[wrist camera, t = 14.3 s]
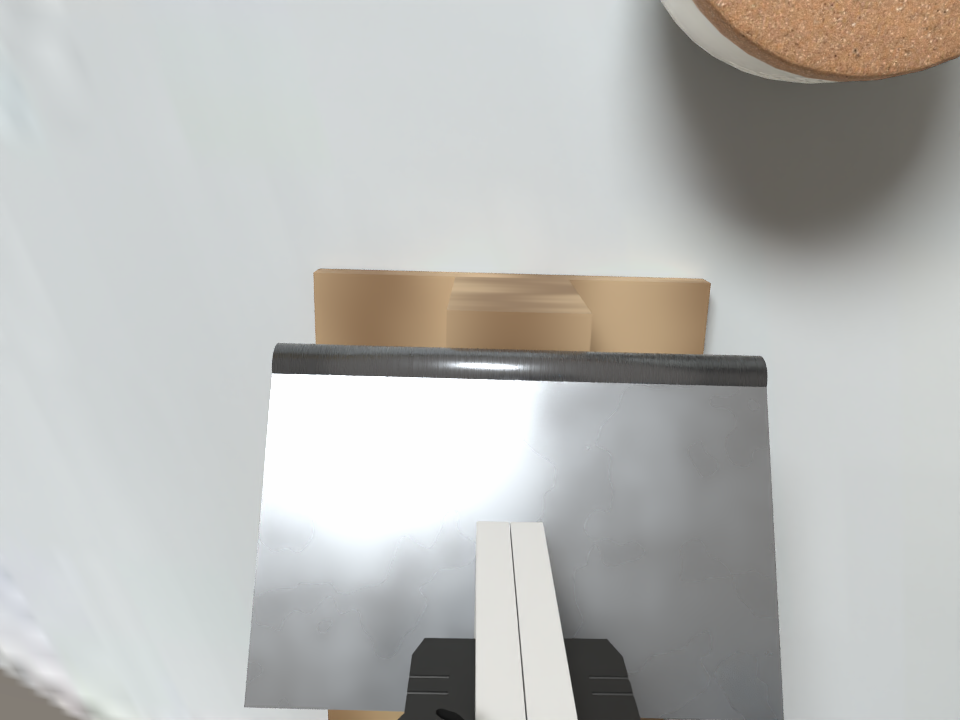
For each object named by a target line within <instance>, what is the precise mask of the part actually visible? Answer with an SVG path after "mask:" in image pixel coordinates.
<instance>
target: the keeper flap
mask: <svg viewBox="0 0 960 720" xmlns="http://www.w3.org/2000/svg"><path fill="white" fill-rule="evenodd" d="M766 387H767V368H766V363H765V361H764V359H763V358H762V357H761V356H741V355H704V354H667V353H629V352H592V351H554V350H517V349H480V348H442V347H405V346H368V345H330V344H293V343H278V344H277V345H276V346H275V349H274V353H273V359H272V383H271V395H270V407H269V419H268V431H267V443H266V455H265V467H264V478H263V490H262V502H261V514H260V526H259V538H258V550H257V562H256V574H255V586H254V597H253V609H252V621H251V633H250V645H249V657H248V669H247V681H246V693H245V705H244V707H254V708H291V709H328V710H364V711H401V712H404V711H405V703H406V696H407V688H408V681H409V673H410V665H411V658H412V654H413V653H414V651H415V650H416V649H417V647H418V646H419V645H420V643H421V642H422V641H423V639H424V638H469V639H474V617H475V571H476V524H477V521H492V522H509V526H510V522H543V526H544V532H545V537H546V543H547V549H548V554H549V560H550V566H551V571H552V577H553V583H554V588H555V594H556V600H557V605H558V611H559V617H560V623H561V628H562V634H563V638H582V639H608V640H609V642H610V643H611V644H612V645H613V646H614V647H615V648H616V649H617V651H618V652H619V653H620V654H621V655H622V656H623V659H624V663H625V666H626V670H627V673H628V679H629V680H630V684H631V687H632V691H633V696H634V697H635V701H636V704H637V708H638V711H639V715H640V718H660V719H697V720H784V715H783V696H782V677H781V658H780V638H779V619H778V600H777V581H776V561H775V542H774V523H773V504H772V484H771V465H770V446H769V427H768V407H767V388H766Z"/></svg>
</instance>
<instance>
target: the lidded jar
mask: <svg viewBox="0 0 960 720" xmlns="http://www.w3.org/2000/svg"><path fill="white" fill-rule="evenodd" d="M661 2H662V3H663V5H664V6H665V8H666V9H667V11H668V12H669V14H670V15H671V17H672V18H673V20H674V21H675V23H676V24H677V25H678V26H679V27H680V28H681V29H682V30H683V31H684V32H685V33H686V34H687V36H688V37H689V38H690V39H691V40H692V41H693V42H694V43H696V44H697V45H698V46H700V47H701V48H702V49H704V50H705V51H706V52H708V53H709V54H710V55H712V56H713V57H715V58H717V59H719V60H721V61H723V62H725V63H727V64H729V65H731V66H733V67H735V68H737V69H739V70H741V71H743V72H746V73H750V74H753V75H756V76H760V77H763V78H766V79H772V80H780V81H788V82H797V83H807V84H810V83H832V82H848V81H870V80H880V79H885V78H890V77H895V76H900V75H904V74H909V73H914V72H918V71H923V70H925V69H928V68H931V67H933V66H936V65H939V64H941V63H944V62H947V61H949V60H952V59H955V58H957V57H959V56H960V0H661Z"/></svg>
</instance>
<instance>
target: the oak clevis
mask: <svg viewBox="0 0 960 720" xmlns="http://www.w3.org/2000/svg"><path fill="white" fill-rule="evenodd" d="M710 286H711V283H709V282H707V281H706V280H704V279H687V278H650V277H612V276H575V275H537V274H500V273H463V272H425V271H388V270H350V269H318V270H317V271H315V272H314V303H315V333H316V344H330V345H368V346H405V347H442V348H480V349H517V350H554V351H592V352H629V353H667V354H703V351H704V341H705V332H706V323H707V313H708V304H709V295H710ZM403 714H404V712H401V711H364V710H328V720H397V719H399V718H400V717H401V716H402V715H403ZM641 720H664V719H660V718H641Z"/></svg>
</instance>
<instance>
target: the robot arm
mask: <svg viewBox="0 0 960 720" xmlns="http://www.w3.org/2000/svg"><path fill="white" fill-rule="evenodd" d="M397 720H641V718H640V715H639V711H638V708H637V704H636V701H635V697H634V696H633V691H632V687H631V684H630V680H629V679H628V673H627V670H626V666H625V663H624V659H623V656H622V655H621V654H620V653H619V652H618V651H617V649H616V648H615V647H614V646H613V645H612V644H611V643H610V642H609V640H608V639H582V638H563V634H562V628H561V623H560V617H559V611H558V605H557V600H556V594H555V588H554V583H553V577H552V571H551V566H550V560H549V554H548V549H547V543H546V537H545V532H544V526H543V522H510V526H509V522H492V521H477V524H476V571H475V617H474V639H469V638H424V639H423V641H422V642H421V643H420V645H419V646H418V647H417V649H416V650H415V651H414V653H413V654H412V658H411V665H410V673H409V681H408V688H407V696H406V703H405V711H404V714H403V715H402V716H401V717H400V718H399V719H397Z"/></svg>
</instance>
